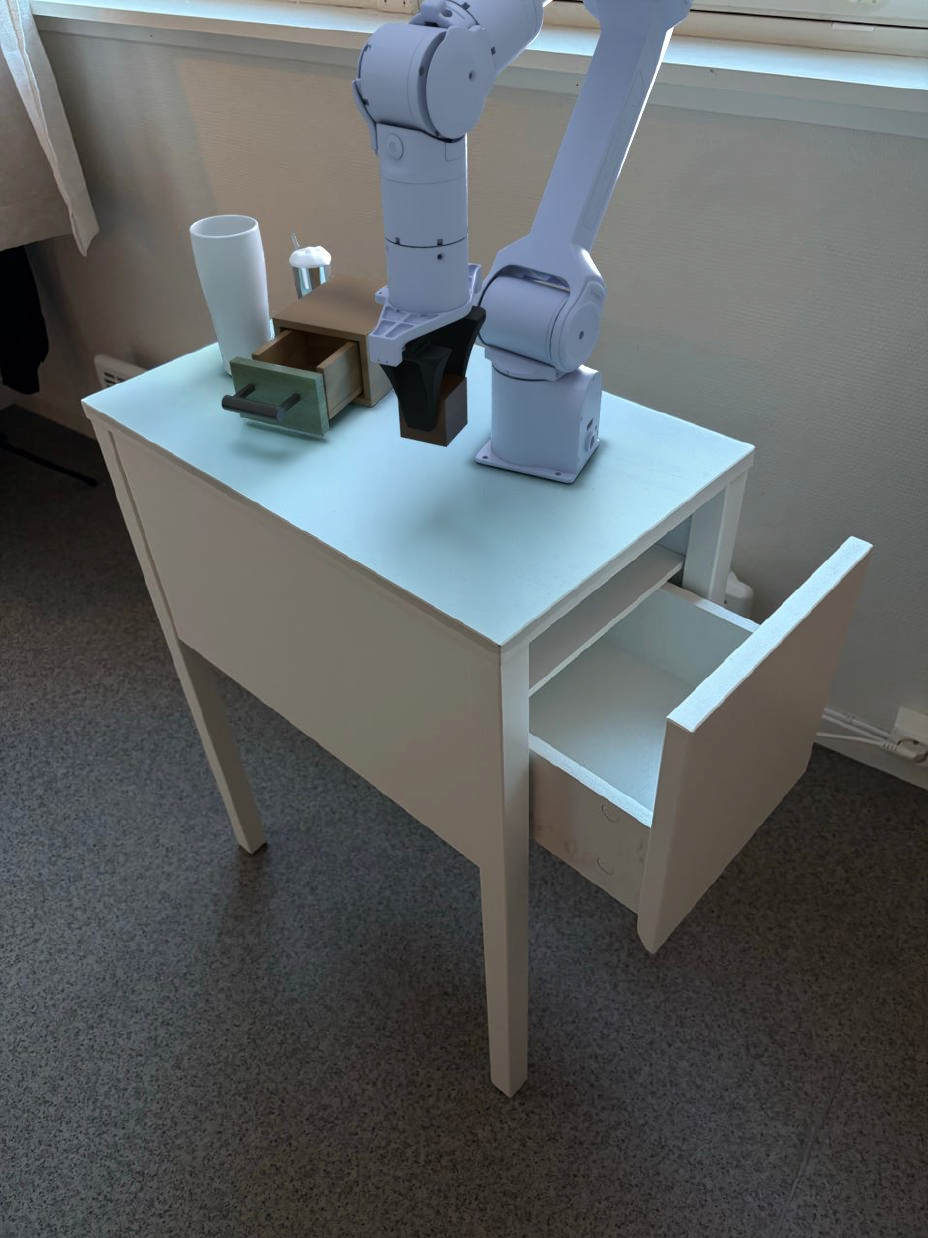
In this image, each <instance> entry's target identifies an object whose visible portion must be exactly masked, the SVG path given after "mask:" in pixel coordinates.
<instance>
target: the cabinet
mask: <svg viewBox="0 0 928 1238" xmlns="http://www.w3.org/2000/svg"><path fill="white" fill-rule="evenodd" d="M387 285H388V281H385V280H381V279H373V278H367V277H361V276H356V275H350V274H349V275H348V274H342V273H336V274H335V275H333V276H331V278H330V279H328V280H327V281H325V282H324V283H322V284H321V285H320V286H318V287H317V288H315V289H314V290H312V291H311V292H309V293H308V294H306V295H305V296H303V297H302V298H300V299H299V300H298V299H297V300H296V301H294V302H293V303H291V304H289V305H288V306H287V307H285V308H284V309H282V310H281V311H279V312H278V313H277V314H274V315H273V316H272V317H271V322H272V328H273V334H274V338H275V337H276V336H277V335H279V334H280V333H282V332H283V331H285V330H286V329H287V328H291V329H296V330H302V331H307V332H312V333H318V334H323V335H328V336H333V337H339V338H344V339H349V340H355V341H360V342H359V345H360V355H361V365H362V375H363V386H364V390H363V391H362V392H361V393H360V394H359V395H358V396H356V397H355V398H354V399H353V400H352V401H351V402H350V403H351V404H355V405H360V406H365V407H370V408H373V407H374V406H375V405H376V404H378V402H379V401H381V399H383V398H384V397H385V396H386V395H388V393H390V391H392V390H393V386H392V384H391V382H390V380H389V379H388V377H387V375H386V374H385V372H384V371H383V369H382V368H381V366H380V365H379V364H378V363H374V362H371V361H370V351H369V339H368V335H369V334H370V333H371V332H372V331H373V330H374V329H375V328H376V326H377V324H378V321H379V318H380V315H381V312H382V309H383V306H384V305H381V304H377V303H376V301H375V293H376V292H377V291H379V290H380V289H381V288H382V287H384V286H387ZM350 403H349V404H350Z"/></svg>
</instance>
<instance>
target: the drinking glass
mask: <svg viewBox="0 0 928 1238" xmlns="http://www.w3.org/2000/svg"><path fill="white" fill-rule="evenodd" d="M188 230H189V231H188V232H189V237H190V243H191V249H192V254H193V259H194V264H195V269H196V272H197V276H198V280H199V283H200V287H201V291H202V293H203V297H204V301H205V303H206V307H207V310H208V313H209V317H210V320H211V323H212V328H213V331H214V333H215V337H216V341H217V345H218V348H219V351H220V356H221V360H222V365H223V369H224V371H225V372H226V373H227V374H228V375H229V376H231V377H232V373H231V368H230V363H229V361H230V360H232V359H233V358H235V357H236V356H237V357H242V358H247V359H252V355H251V354H252V353H253V352H255V351H256V350H257V349H259V348H260V347H262V346H263V345H265V344H266V343H267V342H269V341H270V340H272V331H271V318H270V307H269V305H270V304H269V293H268V279H267V267H266V266H267V265H266V258H265V251H264V245H263V241H262V235H261V230H260V225H259V222H258V220H257V219H255V218H254V217H252V216H248V215H243V214H242V215H241V214H221V215H220V214H219V215H213V216H209V217H205V218H202V219H199V220H197V221H195V222H194V223H192V224H191V225H190V226H189V229H188Z"/></svg>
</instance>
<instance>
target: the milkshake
mask: <svg viewBox="0 0 928 1238" xmlns="http://www.w3.org/2000/svg"><path fill="white" fill-rule="evenodd" d="M290 235H291V239H292V242H293V245H294V248H295V250H294V251H293V252H292V253H291V255H290V257H289V259H288V261H289V265H290V269H291V274H292V278H293V282H294V286H295V290H296V295H297V300H299V299H300V298H302V297H303V296H305V295H306V294H308V293H309V292H311V291H312V290H314V289H315V288H317V287H318V286H320V285H321V284H322V283H324V282H325V281H327V280H328V279H330V278H331V277H332V255H331V253H330V252H328V251H327V250H326V249H325V248H324V247H323V246H321V245H317V246H307V247H304V248H300V245H299V243H298V240H297V237H296V233H294V232H293V233H291V234H290Z"/></svg>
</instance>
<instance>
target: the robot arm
mask: <svg viewBox="0 0 928 1238" xmlns="http://www.w3.org/2000/svg"><path fill="white" fill-rule="evenodd" d="M552 1H553V0H423V1H422V2H421V3H420V4H419V11H418V12H417V13H416V14H414V15H413V16H412V18H411V19H410V21H408V23H404V22H394V21H393V22H391V21H390V22H387V23H384V24H383V25H381V26H379V27H378V28H377V29H376V30H375V31H374V32H373V34H372V35H371V36H370V37H368V39H367V40H366V41H365V43H364V45H363V46H362V48H361V49H360V50H361V51H360V54H359V55H358V60H357V64H356V65H357V66H356V78H355V79H354V80H352V81H351V90H352V95H353V99H354V102H355V105H356V108H357V110H358V112H359V113H360V115H361V116H362V118H363V119H364V120H365V122H366V125H367V127H368V131H369V140H370V149H371V150H373V151H374V152H373V153H374V155H375V156H376V157H377V158H378V168H379V179H380V181H379V182H380V195H381V208H382V221H383V235H384V236H383V237H384V250H385V265H386V277H387V282H388V285H387V286H384V287H382V288H381V289H380V290H379V291H377V292H376V293H375V301H376V303H377V304H381V305H384V306H383V309H382V312H381V315H380V318H379V321H378V324H377V326H376V328H375V329H374V330H373V331H372V332H371V333H370V334H369V335H368V339H369V351H370V361H371V362H374V363H378V364H379V365H380V366H381V368H382V369H383V371H384V372H385V374H386V375H387V377H388V379H389V380H390V382H391V384H392V386H393V388H392V390H393V391H394V393H395V396H396V399H397V402H398V401H399V404H400V407H401V410H402V413H403V416H404V419H405V422H406V424H407V427H408V428H412V429H417V430H422V431H427V432H431V431H432V430H433V429H434V427H435V424H436V419H437V413H438V401H439V389H440V384H441V378H442V375H443V373H447V374H453V375H458V376H463V377H466V374H467V371H468V370H467V369H468V365H469V362H470V357H471V354H472V352H473V348H474V345H475V343H476V341H477V343H479V344H481V345H482V346H484V358H485V359H486V360H488V361H490V363H491V382H490V383H491V385H490V386H491V389H490V390H491V397H490V398H491V401H490V403H491V405H490V407H491V411H490V412H491V413H490V415H491V417H490V418H491V421H490V422H491V423H490V424H491V427H490V428H491V429H490V431H491V433H490V434H491V435H490V438H489V439H488V441H486V442H485V444H483V446H482V447H481V448H480V449H479V451H478V452H477V453H476V454H475V456H474V462H476V463H479V464H483V465H486V466H487V465H488V466H492V467H496V468H500V469H505V470H508V471H513V472H517V473H522V474H526V475H531V476H536V477H540V478H543V479H544V478H545V479H548V480H554V481H558V482H562V483H565V484H566V483H567V484H571V483H573V482H574V481H575V480H576V478H577V477H578V475H579V474H580V472H582V470H583V468H584V466H586V464H587V462H588V461H589V459H590V458H591V456H592V455H593V453H594V452H595V450H596V449H597V448H598V446H599V444H600V443H601V439H600V438H599V431H600V429H599V428H600V416H601V407H602V396H603V395H602V394H603V376H602V373H601V371H599V370H596V369H593V368H590V367H588V366H585V365H584V363H586V362H587V360H588V359H589V358H590V357H591V354H593V351H594V349H595V347H596V345H597V343H598V339H599V335H600V329H601V318H602V313H603V310H604V305H605V302H606V300H607V296H608V293H609V291H608V288H607V284H606V283H605V281H604V278H603V276H602V275H601V272H600V271H599V270H598V268H597V266H596V265H595V263H594V260H593V259H592V257H591V255H590V254H591V252H592V249H593V247H594V244H595V241H596V238H597V235H598V233H599V230H600V227H601V225H602V223H603V219H604V217H605V215H606V211H607V209H608V207H609V204H610V201H611V198H612V196H613V192H614V190H615V187H616V185H617V182H618V179H619V177H620V174H621V172H622V169H623V166H624V164H625V161H626V158H627V155H628V152H629V150H630V148H631V144H632V141H633V139H634V137H635V134H636V131H637V128H638V126H639V123H640V120H641V118H642V115H643V112H644V110H645V107H646V104H647V102H648V99H649V97H650V93H651V91H652V89H653V86H654V83H655V80H656V78H657V75H658V72H659V69H660V66H661V64H662V61H663V60H664V59H663V58H664V55H665V53H666V51H667V48H668V45H669V42H670V39H671V37H672V33H673V30H674V27H676V26H677V25H679V24H680V23H682V22H684V21H685V20H686V19H687V18H688V16H689V13H690V10H691V8H692V6H693V3H694V1H695V0H582V2H583V6H584V9H585V10H586V11H587V12H588V13H589V14H591V16H592V17H594V18H595V19H596V20H597V21H598V22H599V26H600V34H599V38H598V40H597V43H596V46H595V49H594V51H593V55H592V57H591V60H590V63H589V66H588V69H587V72H586V74H585V77H584V80H583V83H582V85H581V87H580V91H579V94H578V97H577V99H576V102H575V105H574V108H573V111H572V114H571V116H570V119H569V122H568V125H567V127H566V130H565V133H564V136H563V138H562V141H561V144H560V146H559V149H558V152H557V155H556V159H555V161H554V164H553V167H552V169H551V172H550V175H549V178H548V181H547V184H546V186H545V189H544V191H543V195H542V197H541V201H540V203H539V205H538V209H537V211H536V214H535V217H534V220H533V223H532V225H531V229H530V231H529V233H527V234H526V235H524V236H523V237H521V238H519V239H517V240H516V241H513V242H512V243H510V244H508V245H506V246H505V247H502V248H501V249H500V250H498V251H497V253H496V255H495V258H494V260H493V263H492V266H491V269H490V271H489V272H488V274H487V275H486V277H485V278H484V279H483V265H482V264H478V263H472V262H470V261H469V259H470V257H469V256H470V255H469V254H470V253H469V203H468V202H469V201H468V199H469V198H468V193H469V191H468V189H469V188H468V133H469V132H472V131H473V130H474V129H475V128H476V126H477V125H478V122H479V121H480V119H481V116H482V114H483V111H484V108H485V104H486V101H487V97H488V95H489V93H490V92H491V90H493V89H494V87H495V84H494V83H495V82H496V81H497V77H498V76H499V75H500V74H501V73H502V72H503V71H505V70H506V68H508V66H509V65H510V64H512V62H514V61H515V59H517V58H518V57H519V56H520V55H521V54H522V53H523V52H524V51H525V50H526V49H527V48H528V47H529V46H530V45H531V44H532V43H534V41H536V39H537V38H538V36H539V34H540V32H541V30H542V27H543V23H544V7H546V6H547V5H548V4H549V3H550V2H552ZM542 282H543V283H542ZM545 283H546V284H545ZM553 285H554V286H553ZM557 286H558V287H557ZM560 287H561V288H560ZM563 288H564V289H563Z"/></svg>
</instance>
